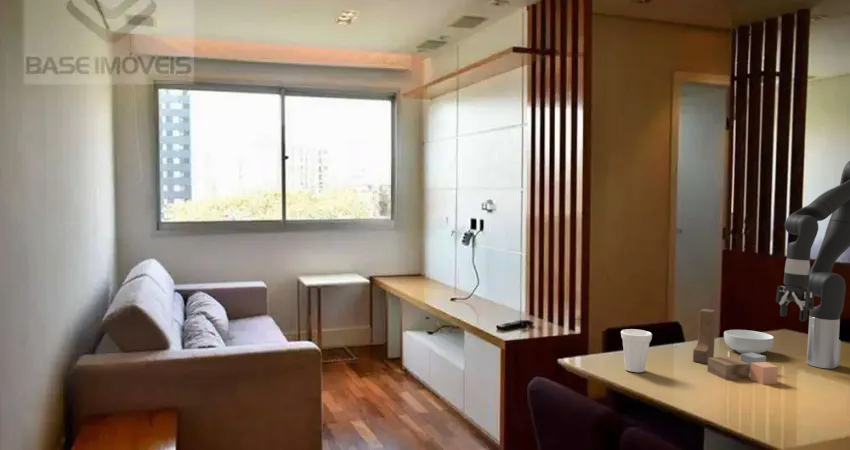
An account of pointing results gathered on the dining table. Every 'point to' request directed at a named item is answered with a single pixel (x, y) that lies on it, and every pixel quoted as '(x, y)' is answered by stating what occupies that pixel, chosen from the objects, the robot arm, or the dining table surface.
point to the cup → (635, 348)
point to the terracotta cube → (764, 373)
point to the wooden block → (705, 336)
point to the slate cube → (752, 358)
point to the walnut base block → (728, 368)
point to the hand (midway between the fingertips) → (792, 318)
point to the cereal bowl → (748, 341)
